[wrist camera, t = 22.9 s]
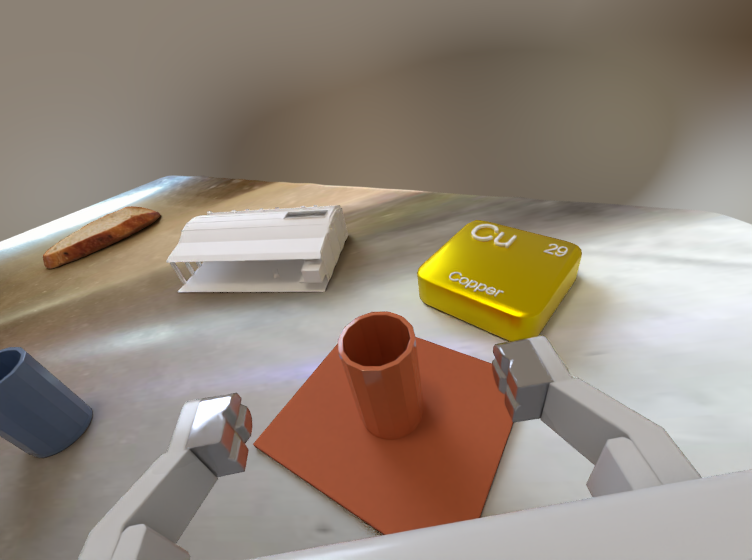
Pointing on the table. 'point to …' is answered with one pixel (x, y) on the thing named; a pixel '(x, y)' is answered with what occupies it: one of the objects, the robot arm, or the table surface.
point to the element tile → (500, 278)
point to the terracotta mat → (398, 444)
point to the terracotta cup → (383, 373)
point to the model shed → (261, 250)
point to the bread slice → (99, 235)
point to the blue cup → (37, 406)
